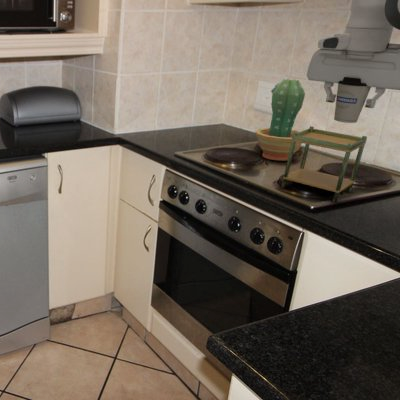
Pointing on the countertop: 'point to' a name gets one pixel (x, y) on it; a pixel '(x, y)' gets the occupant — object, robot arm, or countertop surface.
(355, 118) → the coffee cup
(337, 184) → the shelf rack
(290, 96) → the potted cactus
